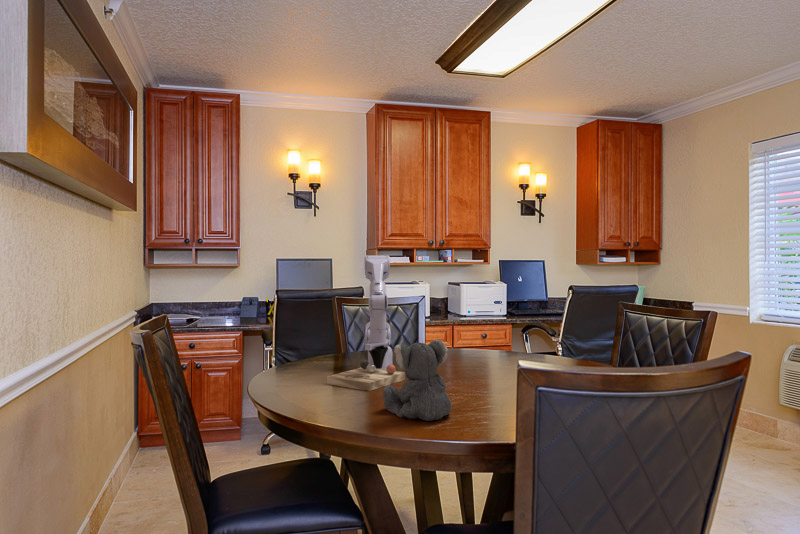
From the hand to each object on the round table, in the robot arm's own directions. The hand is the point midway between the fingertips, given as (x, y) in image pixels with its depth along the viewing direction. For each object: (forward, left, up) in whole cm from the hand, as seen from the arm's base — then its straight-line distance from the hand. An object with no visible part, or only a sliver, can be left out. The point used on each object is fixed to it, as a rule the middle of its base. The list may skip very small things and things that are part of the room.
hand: (378, 368), depth 181 cm
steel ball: (+4, 0, +1) cm, 4 cm away
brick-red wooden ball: (+1, +6, +1) cm, 7 cm away
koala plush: (+28, +36, -4) cm, 46 cm away
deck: (+6, 0, -3) cm, 7 cm away
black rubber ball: (-1, -7, +1) cm, 7 cm away
